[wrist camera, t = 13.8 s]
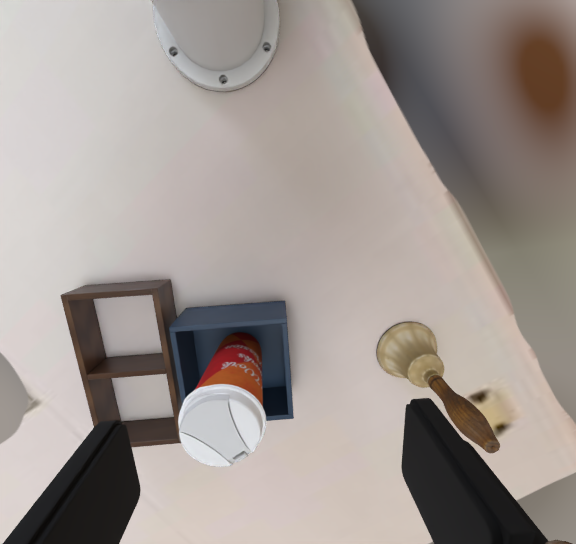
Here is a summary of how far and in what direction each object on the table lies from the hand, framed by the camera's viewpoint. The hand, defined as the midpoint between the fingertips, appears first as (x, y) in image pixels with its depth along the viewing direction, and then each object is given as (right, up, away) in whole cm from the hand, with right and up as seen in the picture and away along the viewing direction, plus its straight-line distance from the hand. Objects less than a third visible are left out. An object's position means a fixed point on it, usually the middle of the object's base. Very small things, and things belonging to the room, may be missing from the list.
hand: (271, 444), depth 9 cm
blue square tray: (-6, -5, +28) cm, 29 cm away
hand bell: (+17, -5, +30) cm, 34 cm away
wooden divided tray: (-19, -6, +28) cm, 34 cm away
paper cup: (-6, -5, +28) cm, 29 cm away
